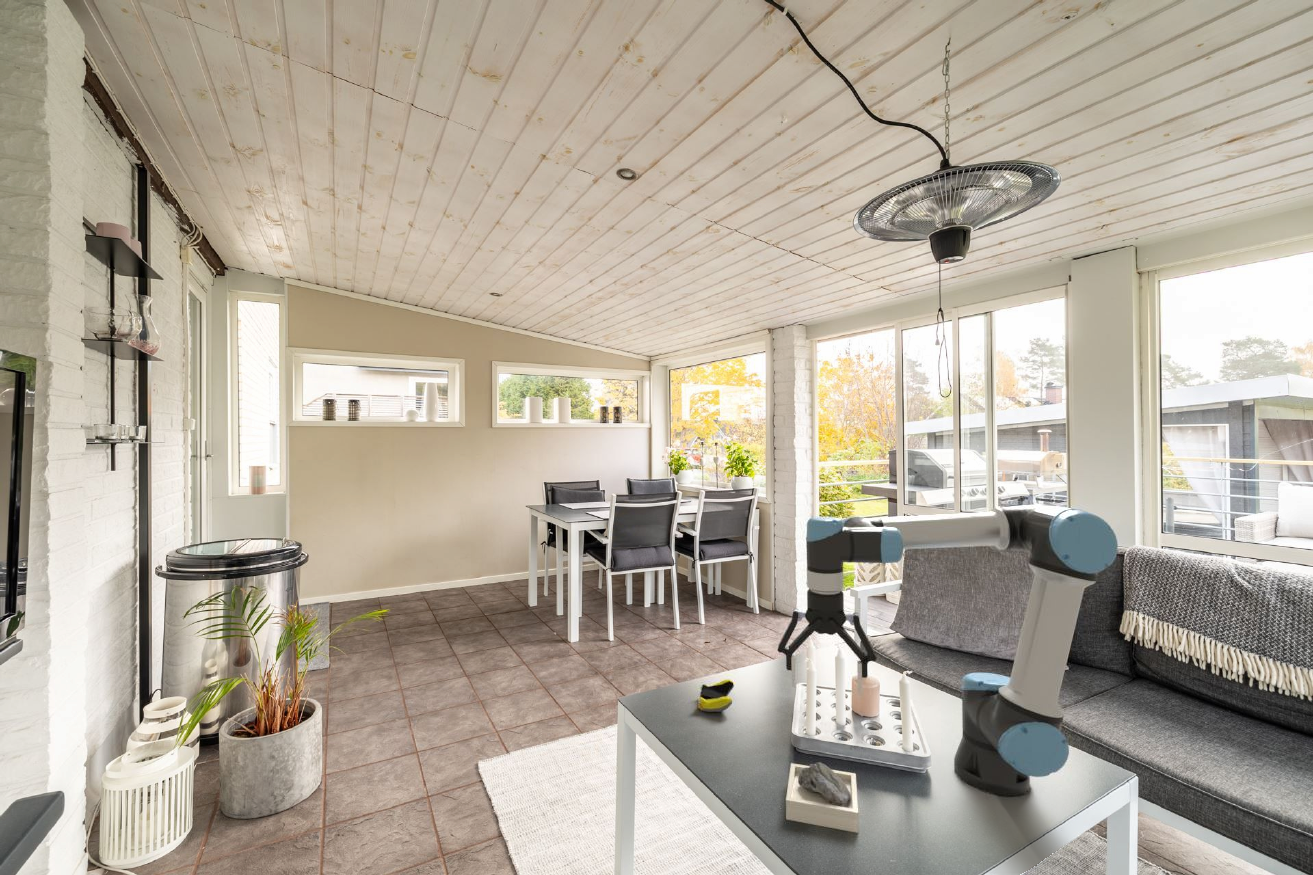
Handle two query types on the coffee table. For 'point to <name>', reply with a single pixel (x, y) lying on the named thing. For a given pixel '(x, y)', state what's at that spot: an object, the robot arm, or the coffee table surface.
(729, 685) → the yellow black shoe
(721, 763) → the coffee table surface
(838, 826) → the small open wooden box
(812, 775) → the grey rock
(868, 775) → the coffee table surface
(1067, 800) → the coffee table surface
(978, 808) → the coffee table surface
